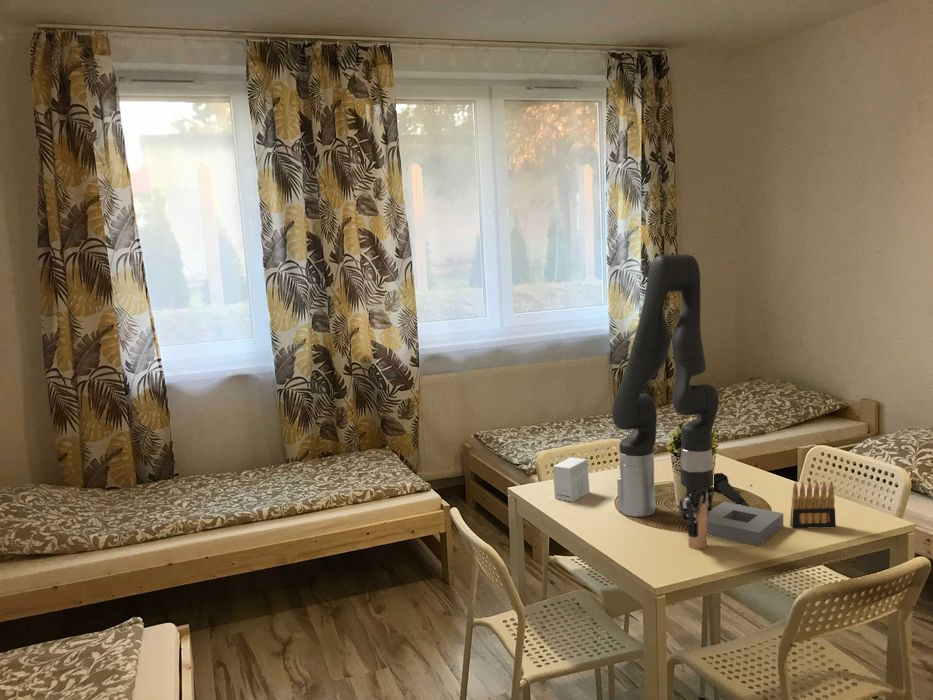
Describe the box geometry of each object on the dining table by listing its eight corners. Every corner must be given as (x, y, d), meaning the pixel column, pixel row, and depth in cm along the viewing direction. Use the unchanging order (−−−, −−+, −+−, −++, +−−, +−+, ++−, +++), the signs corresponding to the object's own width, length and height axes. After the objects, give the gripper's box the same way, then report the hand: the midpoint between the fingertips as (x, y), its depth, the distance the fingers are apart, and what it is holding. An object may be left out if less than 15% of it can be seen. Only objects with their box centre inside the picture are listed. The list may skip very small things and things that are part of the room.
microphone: (752, 519, 213) (719, 488, 232) (760, 500, 212) (725, 471, 231) (735, 515, 212) (703, 484, 231) (742, 496, 210) (709, 467, 230)
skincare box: (571, 489, 237) (570, 456, 235) (589, 492, 233) (588, 459, 231) (553, 499, 229) (552, 465, 227) (572, 502, 225) (571, 468, 223)
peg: (685, 546, 189) (684, 503, 187) (693, 541, 192) (692, 498, 190) (702, 550, 186) (701, 507, 184) (710, 545, 189) (709, 502, 187)
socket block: (697, 532, 197) (696, 519, 197) (723, 514, 209) (723, 501, 208) (758, 546, 186) (758, 532, 186) (783, 526, 198) (783, 513, 198)
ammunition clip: (792, 528, 197) (792, 483, 195) (790, 525, 198) (790, 481, 197) (835, 527, 196) (836, 482, 194) (833, 524, 197) (833, 479, 196)
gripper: (695, 456, 194) (696, 521, 196) (668, 471, 183) (669, 539, 186) (724, 461, 189) (724, 527, 191) (697, 476, 178) (698, 546, 181)
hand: (697, 533), depth 188 cm, fingers closed on peg, 4 cm apart
